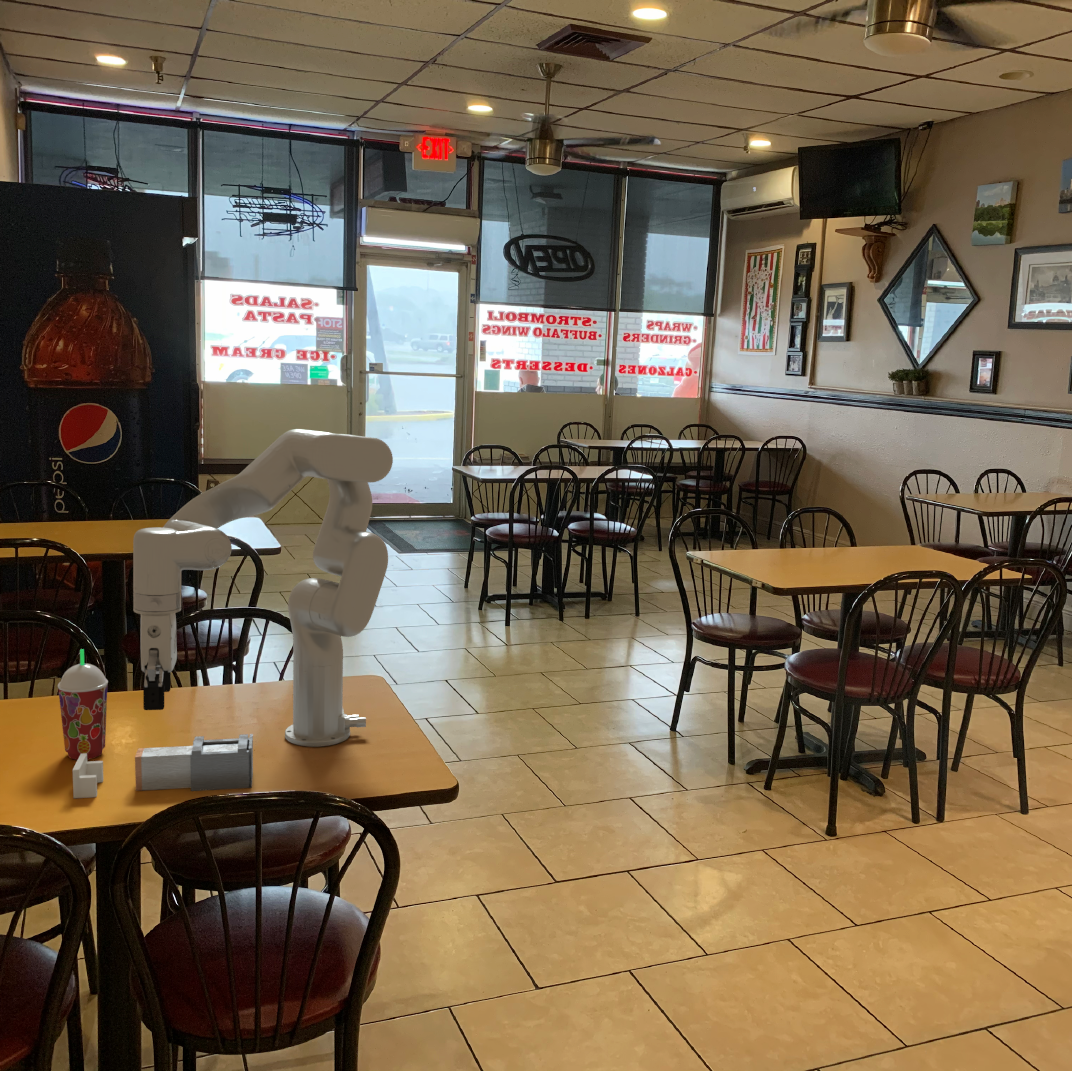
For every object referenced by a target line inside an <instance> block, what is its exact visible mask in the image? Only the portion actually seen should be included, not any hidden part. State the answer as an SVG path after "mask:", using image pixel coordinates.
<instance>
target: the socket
mask: <svg viewBox="0 0 1072 1071" xmlns="http://www.w3.org/2000/svg"><path fill="white" fill-rule="evenodd" d="M103 782H104V761H103V760H95V761H94V760H93V761H88V760H87V753H83V754H80V756H79V758H78V760H76V762H75V765H74V766H73V768H72V787H73V788H72V789H73V790H72V792H73V799H83V798H87V799H88V798H97V796H98V783H103Z"/></svg>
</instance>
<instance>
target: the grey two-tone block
mask: <svg viewBox="0 0 1072 1071" xmlns="http://www.w3.org/2000/svg"><path fill="white" fill-rule="evenodd" d="M192 748H193V745H186V746H185V745H183V746H181V745H180V746H179V745H178V746H163V747H162V746H161V747H142V748H137V751H136V753H135V756H134V767H135V768H134V772H135V773H134V775H135V791H156V790H169V789H189V788H190V789H191V770H190V754H191V753H192ZM237 750H238V744H221V745H203V747H202V752H217V751H237Z"/></svg>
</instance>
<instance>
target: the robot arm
mask: <svg viewBox="0 0 1072 1071" xmlns="http://www.w3.org/2000/svg"><path fill="white" fill-rule="evenodd" d="M393 459H394V457H393V453H392V450H391V448H390V447H389V445H388V444H387V442H384V440H382V439H380V438H378V437H371V436H363V435H362V436H361V435H355V434H346V433H345V434H344V433H335V432H333V433H332V432H327V431H321V430H320V431H319V430H313V429H312V430H311V429H304V428H295V429H289V430H287V431H285V432H284V433H282V434H281V435H279V437H277V438H276V439H275V441H273V442H272V443H271V444H270V445H269V446H268V447H267V448H266V449H264V451H262V452H261V453H260V454H259V455H258V456H257V457H256V458H254V460H252V461H251V463H249V464H248V465H247V466H246V467H245V468H244V469H243V470H241V472H240V473H238V474H237V475H235V476H234V477H232V478H229V479H227V480H225V481H223V482H220V483H218V484H217V485H215V486H213V487H212V488H210V489H207V490H205V491H204V492H202V493H199V494H198V495H197V496H195V497H193V498H192V499H191V500H190V501H187V503H186V504H184V505H183V506H182V507H181V508H179V510H178V511H177V512H176V513H175V514H173V515H172V516H171V517H170V518H169V519H168V520H167V522H166V523H164V525H163V526H162V527H158V526H157V527H156V526H155V527H145V528H140V529H138V530H136V532H135V533H134V535H133V540H132V541H133V542H132V543H133V545H132V548H133V553H132V554H133V561H132V562H133V567H132V568H133V570H132V572H133V577H132V578H133V583H132V585H133V586H132V587H133V589H132V590H133V593H132V594H133V595H132V596H133V610H132V611H133V613H136V614H138V615H140V668H141V669H140V670H141V671H142V672H143V673H144V682H143V696H142V697H143V700H142V701H143V706H142V707H143V710H144V711H162V710H164V709H165V693H169V692H170V691H171V683H172V682H171V672H173V670H174V669H175V665H176V663H177V659H178V651H177V649H178V648H177V618H176V617H177V616H176V613H179V612H181V611H182V571H184V570H186V571H188V570H189V571H190V570H191V571H192V570H193V571H212V570H215V569H218V568H220V567H222V566H223V565H225V563H227V562H228V560H229V558H230V557H231V554H232V551H233V550H232V548H233V547H232V546H233V545H232V543H231V540H230V538H229V537H228V535H227V534H226V533H225V532H224V531H222V530H221V529H219V528H220V527H222V526H224V525H226V524H228V523H230V522H233V521H236V520H240V519H243V518H249V517H253V516H254V517H255V516H257V515H258V516H259V515H260V514H264V513H268V512H269V511H271V510H273V509H274V508H275V507H276V506H277V505H279V503H280V502H281V501H282V500H283V499H285V497H286V496H287V495H289V493H290V492H291V491H292V490H294V488H296V487H297V485H299V484H300V483H301V482H303V480H305V478H308V477H309V478H310V477H311V478H315V479H316V478H317V479H323V480H324V479H325V480H327V484H328V489H329V490H328V491H329V499H328V504H327V507H326V510H325V511H326V512H325V514H324V516H323V519H322V522H321V525H320V529H319V531H318V535H317V537H316V540H315V543H314V547H313V551H312V560H313V561H312V562H313V563H314V565H315V566H316V568H317V569H319V570H321V571H322V572H325V573H326V574H327V573H328V574H330V575H334V576H338V577H340V581H339V582H336V581H332V580H329V579H324V578H319V577H311V578H310V577H309V578H305V579H302V580H301V581H299V582H298V583H296V585H294V587H293V588H292V590H291V591H290V593H289V597H288V602H287V603H288V604H287V605H288V606H287V607H288V608H287V609H288V616H289V620H290V626H291V631H292V633H291V634H292V644H293V645H292V646H293V649H292V650H293V651H292V652H293V653H292V654H293V655H292V656H293V660H292V663H293V664H292V668H293V669H292V675H293V676H292V685H293V686H292V689H293V692H292V696H293V697H292V698H293V700H292V717H293V718H292V724H290V725H289V726H288V727H287V728H286V729H285V731H284V737H285V740H287V742H289V743H291V744H293V745H297V746H300V747H301V746H302V747H310V748H311V747H313V748H315V747H317V748H319V747H327V746H328V747H329V746H333V745H337V744H340V743H342V742H344V741H346V740H348V738H349V737H350V736H351V728H366V727H367V718H366V717H362V716H361V717H359V714H352V715H351V714H349V715H348V714H347V713H345V712H344V711H345V710H344V707H343V701H344V700H343V699H344V698H343V695H344V694H343V690H344V689H343V687H344V686H343V684H344V683H343V681H344V648H343V647H344V646H343V640H342V637H344V638H349V637H351V638H352V637H356V636H357V635H359V634H360V633H361V632H363V631H364V630H365V629H366V627H367V625H368V624H369V622H370V619H371V618H372V615H373V612H374V609H375V606H376V604H377V601H378V598H379V595H380V593H381V588H382V586H383V582H384V579H385V576H386V573H387V569H388V564H389V553H388V552H389V551H388V548H387V544H386V543H385V541H384V540H383V538H382V537H380V536H379V535H377V534H375V533H373V532H370V531H367V528H368V526H369V522H370V519H371V515H372V511H373V495H372V491H371V489H370V485H369V483H371V484H372V483H377V482H380V481H382V480H383V479H384V478H386V477H387V476H388V475H389V473H390V472H391V469H392V467H393V463H394V460H393Z"/></svg>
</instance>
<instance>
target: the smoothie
mask: <svg viewBox="0 0 1072 1071" xmlns="http://www.w3.org/2000/svg"><path fill="white" fill-rule="evenodd" d="M79 658H80V663H78V664H74V665H73V666H71V667H69V668H68V669H67V670H66V671H65V672H64V673H63V675H62V677H61V680H60V681H59V682H58V684H57V688H58V698H59V709H60V717H61V725H62V726H61V727H62V733H63V735H62V736H63V744H64V751H65V752H66V753H67V756H68V758H69V759H72V760H74V761H75V760H76V761H77V760H78V758H79V756H80V754H83V753H87V761H88V760H92V759H95V758H97V757H100V756H101V755H102V754H103V749H104V748H106V735H107V734H106V731H107V728H106V727H107V708H108V707H107V706H108V705H107V703H108V683H109V680H108V679H107V678H106V677H105V675H104V673H103V672H102V670H101V669H99V667H97V666H96V665H94V664H91V663H85V649H84V648H83V649H82V648H81V649H80V650H79Z"/></svg>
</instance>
